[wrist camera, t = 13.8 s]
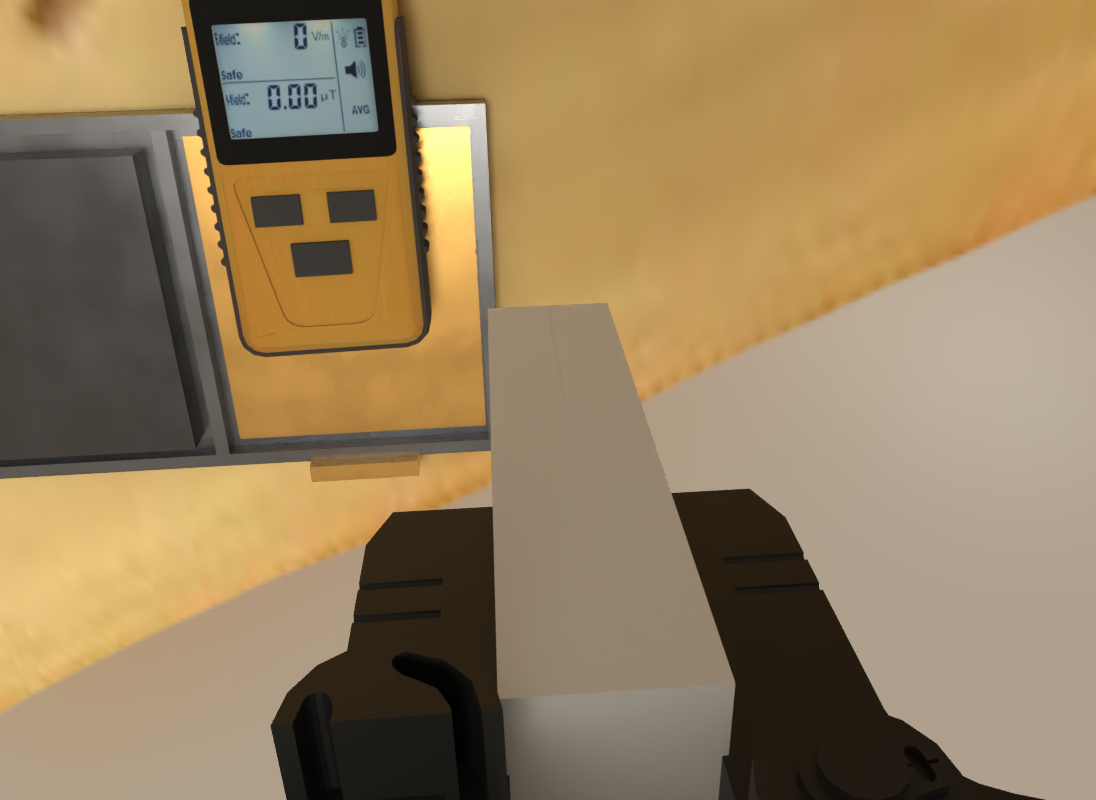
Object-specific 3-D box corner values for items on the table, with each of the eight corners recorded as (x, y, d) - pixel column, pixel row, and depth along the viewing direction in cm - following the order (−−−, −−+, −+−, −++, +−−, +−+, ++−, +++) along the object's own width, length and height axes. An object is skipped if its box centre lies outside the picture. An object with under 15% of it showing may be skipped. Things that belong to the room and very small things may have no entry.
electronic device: (249, 338, 42) (232, 367, 38) (178, -53, 35) (150, -56, 32) (439, 325, 42) (437, 353, 39) (402, -62, 36) (396, -66, 32)
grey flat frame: (-173, 121, 37) (-205, 130, 35) (484, 98, 39) (485, 106, 37) (-44, 483, 44) (-65, 506, 43) (501, 452, 46) (503, 472, 44)
